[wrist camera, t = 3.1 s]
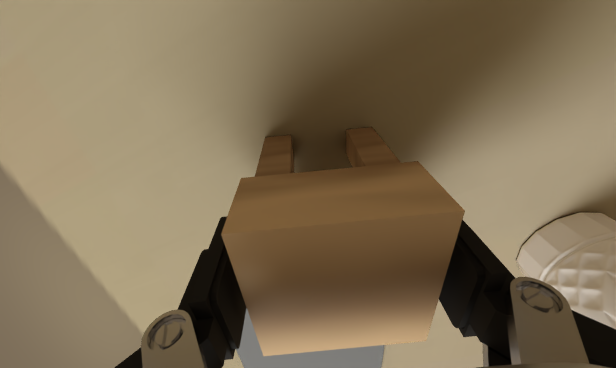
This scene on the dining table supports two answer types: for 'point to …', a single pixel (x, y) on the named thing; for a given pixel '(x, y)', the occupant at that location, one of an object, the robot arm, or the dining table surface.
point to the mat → (305, 355)
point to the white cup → (577, 262)
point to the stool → (340, 248)
